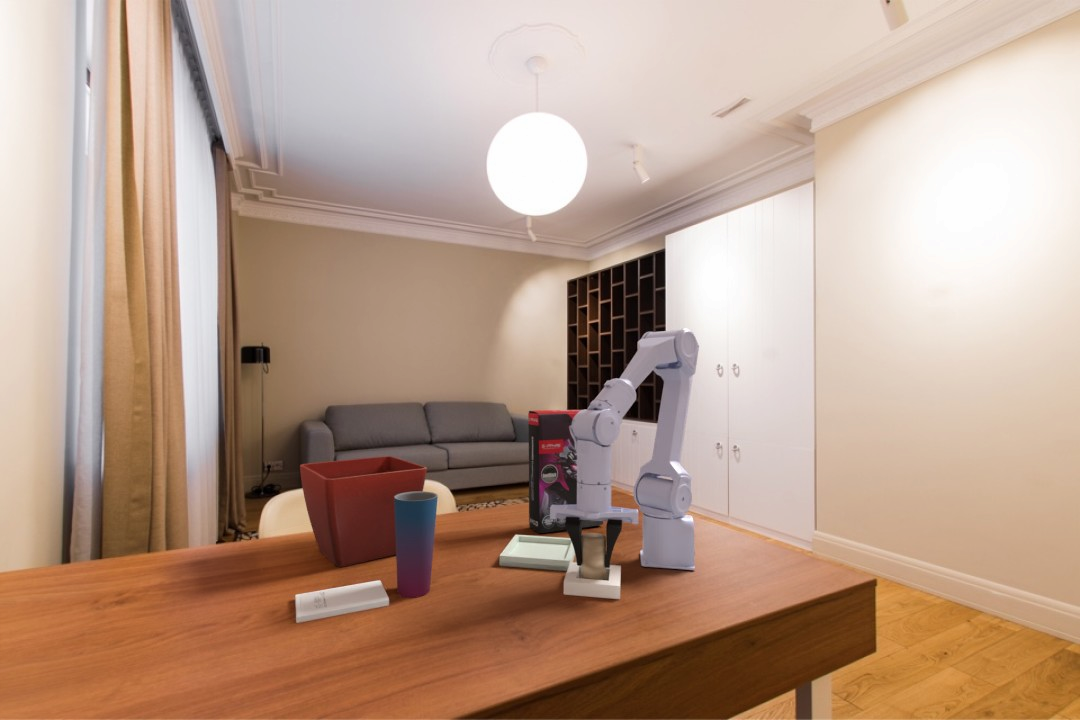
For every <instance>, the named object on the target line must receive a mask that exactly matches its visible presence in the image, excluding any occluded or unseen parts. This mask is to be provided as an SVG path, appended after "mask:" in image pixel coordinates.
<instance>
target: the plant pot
mask: <svg viewBox="0 0 1080 720" xmlns="http://www.w3.org/2000/svg"><path fill="white" fill-rule="evenodd" d="M299 469H300V471H299V472H300V478H301V488H302V493H303V496H304V502H305V506H306V510H307V515H308V518H309V522H310V526H311V529H312V533H313V535H314V538H315V542H316V543H317V545H316V546H317V547H318V550H319V551H320V552H321V553H323V555H324V556H325V557H326V558H327V559H328V560H329V561H331V563H332V564H333V565H334V566H336V567H339V568H340V567H347V566H350V565H355V564H360V563H363V562H368V561H373V560H377V559H382V558H386V557H390V556H395V555H396V535H395V506H394V496H395V495H397V494H401V493H405V492H416V491H424V489H425V488H424V487H425V482H426V478H427V469H428V467H426V466H424V465H421V464H418V463H414V462H412V461H411V462H410V461H408V460H404V459H403V458H399V457H396V456H392V455H390V456H389V455H386V456H385V455H384V456H376V457H373V456H372V457H362V458H353V459H352V458H350V459H342V460H331V461H330V460H329V461H320V462H319V461H318V462H310V463H308V462H307V463H302V464H300V465H299Z"/></svg>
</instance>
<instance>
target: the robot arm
mask: <svg viewBox="0 0 1080 720" xmlns="http://www.w3.org/2000/svg"><path fill="white" fill-rule="evenodd" d="M636 347H637V351H636V352H635V354H634V355H633V357H632V359H631V360H630V361H629V363H628V364H627V366H626V368H625V369H624V371H623V372H622V373H621V375H620V377H619V378H617V377H616V378H612V379H610V380H609V379H608V380H606V382H605V383H604V384H603V388H602V389H601V391H600V392H599V393H598V395H597V396H596V397H595V398H594V399H593V400H592V401H591V402H590V403H589V406H588V407H587V409H580V410H581V411H579V412H578V413H577V414H576V415H575V416H574V418H573V420H572V425H571V426H569V428H570V433H571V436H572V438H573V439H574V442H575V449H576V452H577V504H575V505H551V507H550V519H557V518H563V519H566V521H565V528H566V530H565V531H566V532H567V534H568V536H569V538H570V539H571V541H572V544H573V547H574V551H575V558H576V562H577V565H578V566H581V564H582V535H583V534H582V533H583V528H582V520H596V521H603V522H606V526H605V527H606V529H605V530H606V531H605V532H606V533H605V536H606V559H605V568H610V565H611V559H612V554H613V551H614V548H615V546H616V542H617V541H618V538H619V536H620V533H621V532H622V529H623V523H629V524H632V525H639V511H640V513H641V512H642V549H640V551H639V554H640V555H639V556H640V565H641V566H642V567H647V568H648V567H649V568H657V569H659V568H661V569H673V570H674V569H675V570H676V569H677V570H687V571H688V570H689V571H695V570H696V567H695V556H696V552H695V551H696V549H695V526H694V525H695V523H694V519H693V516H692V515H690V514H687V512H689V510H690V508H691V506H692V502H693V493H692V486H691V485H692V477H691V475H690V474H689V472H687V471H686V469H685V468H683V466H682V465H681V461H682V460H681V459H682V454H683V453H682V452H683V445H684V439H685V432H686V427H687V426H686V425H687V418H688V412H689V405H690V398H691V391H692V384H693V376H694V375H695V374H696V370H697V363H698V357H699V350H700V349H699V348H700V345H699V343H698V340H697V338H696V336H695V334H694V333H693V331H692V330H691V329H690V328H681V329H674V330H664V331H663V330H662V331H646V332H645V333H644V334H643V335H642V337H641V338H640V339H639V340H638V341H637V346H636ZM652 372H654V373H655V374H656V375H657V376H659V377H660V378H661V379H662V381H663V388H662V393H661V398H660V399H661V400H660V405H659V412H658V419H657V424H656V433H655V436H654V437H655V438H654V443H653V450H652V456H651V459H650V460H649V461H647V462H646V463H644V465H642V466H640V469H639V474H638V477H637V479H636V480H635V483H634V486H633V491H632V493H633V498H634V501H635V503H636V505H637V506H639V509H638V508H629V507H628V508H626V507H619V506H612V444H613V443H614V442H615V441H617V439H618V438H619V435H620V427H621V424H622V423H623V422H622V421H623V418H624V417H625V416H626V414H627V412H629V410H630V409H631V407H632V406H633V404H634V403H635V402H636V401H637V392H636V390H637V388H638V387H639V386H640V385H641V384H642V383H643V382H644V381H645V380H646V378H647V377H648V376H649V375H650V374H651V373H652ZM663 477H667V478H663ZM669 478H670V479H669Z"/></svg>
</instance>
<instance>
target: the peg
mask: <svg viewBox="0 0 1080 720" xmlns="http://www.w3.org/2000/svg"><path fill="white" fill-rule="evenodd" d="M605 559H606V534H605V535H604V534H602V533H597V532H587V533H583V534H582V564H581V578H582V579H594V580H606V568H605Z"/></svg>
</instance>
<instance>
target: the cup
mask: <svg viewBox="0 0 1080 720" xmlns="http://www.w3.org/2000/svg"><path fill="white" fill-rule="evenodd" d="M438 497H439V496H438V494H437V493H435V492H432V491H424V490H423V491H416V492H405V493H401V494H397V495H395V496H394V506H395V535H396V556H395V559H396V560H395V561H396V583H397V584H396V587H397V588H396V589H397V595H398V596H399V597H402V598H409V599H410V598H413V599H414V598H420V597H423V596H426V595H427V594H429V592H430V591H431V579H432V569H433V568H432V567H433V557H434V544H435V534H436V533H435V532H436V531H435V530H436V519H437V508H438Z"/></svg>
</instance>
